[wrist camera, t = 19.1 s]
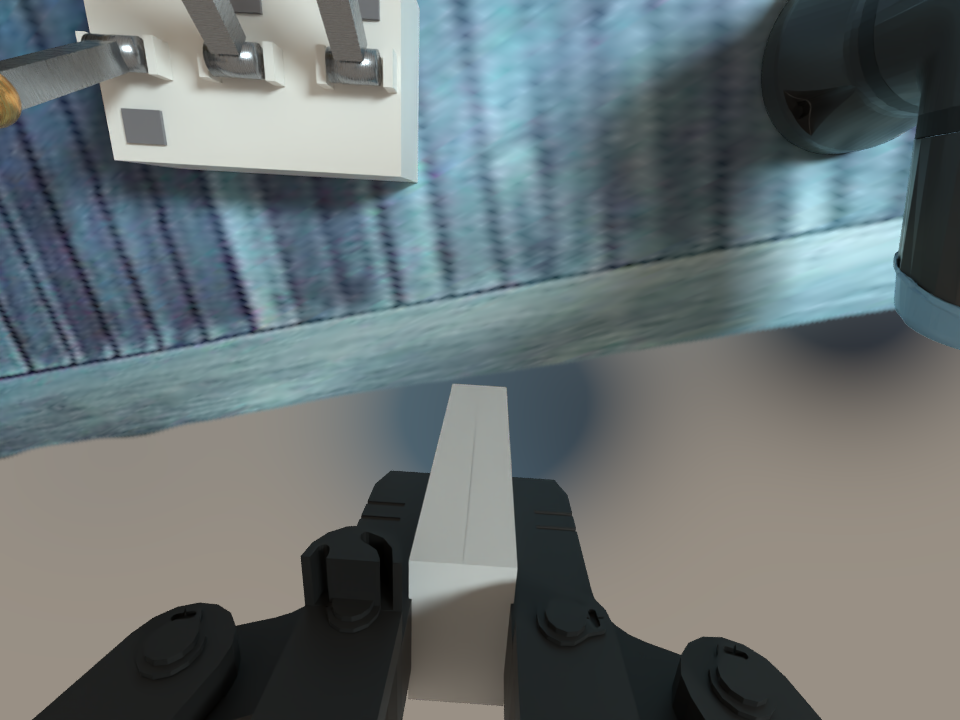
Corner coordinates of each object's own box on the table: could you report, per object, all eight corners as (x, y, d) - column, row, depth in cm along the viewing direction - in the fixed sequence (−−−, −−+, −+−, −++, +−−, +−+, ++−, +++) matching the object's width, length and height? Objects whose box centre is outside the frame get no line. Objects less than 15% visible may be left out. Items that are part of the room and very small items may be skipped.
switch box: (419, 8, 38) (395, -55, 29) (417, 182, 43) (396, 175, 34) (149, -7, 38) (42, -74, 29) (176, 168, 43) (90, 157, 34)
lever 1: (140, 24, 31) (-42, 67, 21) (160, 77, 34) (6, 138, 23) (92, 22, 31) (-112, 63, 21) (116, 74, 34) (-58, 135, 23)
